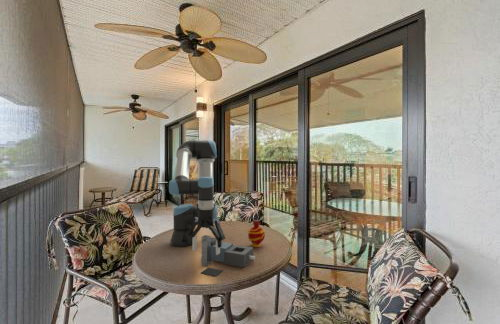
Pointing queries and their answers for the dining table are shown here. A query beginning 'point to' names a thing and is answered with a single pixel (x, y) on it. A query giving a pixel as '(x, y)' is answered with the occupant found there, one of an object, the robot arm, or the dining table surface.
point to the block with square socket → (232, 254)
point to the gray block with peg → (206, 250)
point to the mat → (211, 271)
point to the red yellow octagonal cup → (256, 234)
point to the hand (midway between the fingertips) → (206, 251)
